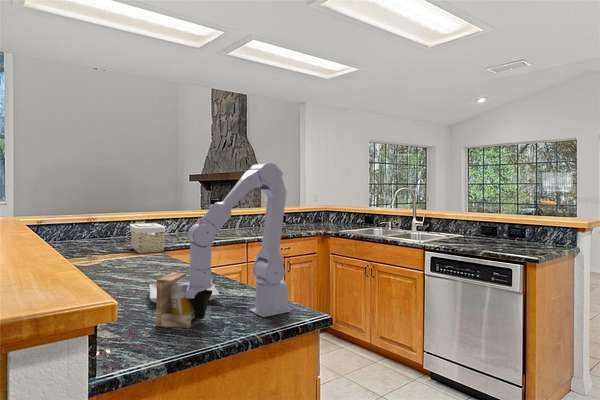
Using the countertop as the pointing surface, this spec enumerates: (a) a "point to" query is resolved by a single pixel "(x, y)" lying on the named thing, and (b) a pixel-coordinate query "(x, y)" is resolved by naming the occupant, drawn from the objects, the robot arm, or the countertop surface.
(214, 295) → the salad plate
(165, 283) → the socket station
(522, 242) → the countertop surface
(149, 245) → the storage basket
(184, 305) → the supplement bottle
